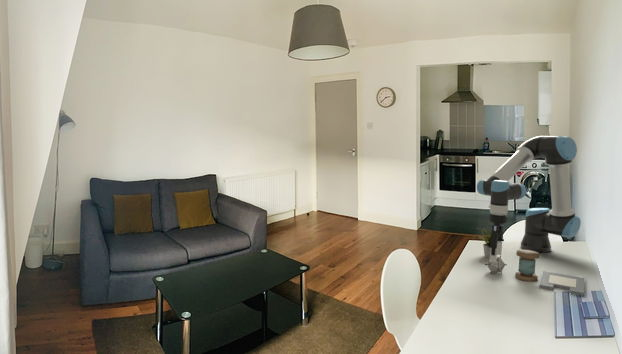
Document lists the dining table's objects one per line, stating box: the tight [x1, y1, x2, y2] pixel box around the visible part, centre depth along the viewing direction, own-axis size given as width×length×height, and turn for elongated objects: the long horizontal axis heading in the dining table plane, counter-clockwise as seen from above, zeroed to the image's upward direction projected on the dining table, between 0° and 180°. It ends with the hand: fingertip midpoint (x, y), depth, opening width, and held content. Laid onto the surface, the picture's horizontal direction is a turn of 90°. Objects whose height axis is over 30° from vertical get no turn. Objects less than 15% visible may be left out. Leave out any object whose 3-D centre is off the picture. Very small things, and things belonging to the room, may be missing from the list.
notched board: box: [538, 270, 585, 296], centre depth 179 cm, size 20×16×2 cm
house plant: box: [477, 227, 492, 259], centre depth 217 cm, size 14×14×16 cm
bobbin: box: [514, 249, 540, 283], centre depth 186 cm, size 9×9×12 cm
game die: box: [484, 255, 508, 275], centre depth 193 cm, size 9×8×10 cm
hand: (495, 258), depth 193 cm, fingers open, 13 cm apart
